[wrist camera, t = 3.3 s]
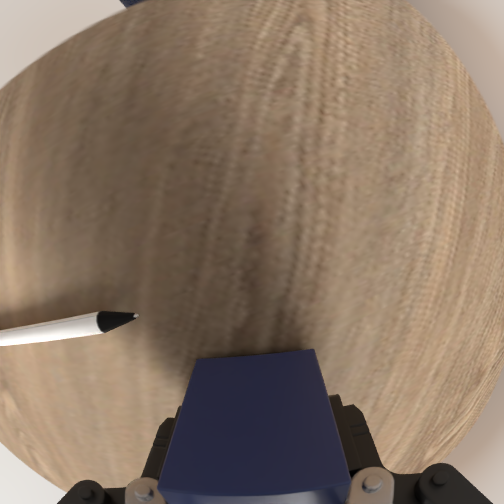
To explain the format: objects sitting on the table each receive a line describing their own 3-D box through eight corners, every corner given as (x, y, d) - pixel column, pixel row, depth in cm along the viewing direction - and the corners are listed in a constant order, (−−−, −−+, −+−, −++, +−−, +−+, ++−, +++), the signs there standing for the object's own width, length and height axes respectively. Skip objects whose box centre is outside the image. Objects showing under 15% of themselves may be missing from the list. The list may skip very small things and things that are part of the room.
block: (196, 357, 10) (154, 488, 5) (314, 347, 10) (352, 481, 4) (217, 431, 12) (201, 540, 6) (314, 424, 11) (334, 534, 6)
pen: (-43, 335, 12) (-51, 341, 11) (138, 299, 10) (126, 312, 9) (-38, 346, 12) (-47, 352, 11) (146, 320, 10) (136, 334, 9)
